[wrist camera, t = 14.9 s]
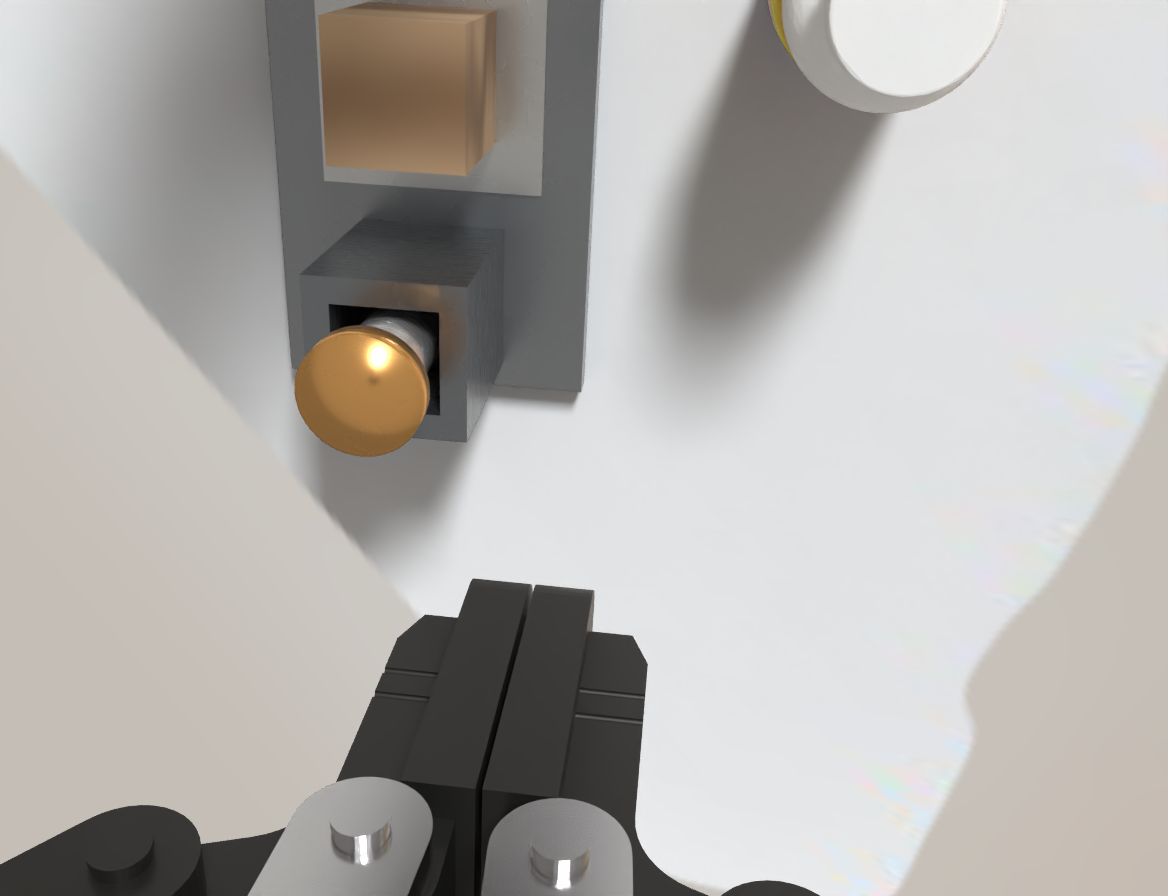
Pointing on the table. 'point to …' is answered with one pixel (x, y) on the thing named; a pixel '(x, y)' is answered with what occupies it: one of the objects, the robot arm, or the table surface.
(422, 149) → the block
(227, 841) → the robot arm
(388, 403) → the plunger
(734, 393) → the table surface
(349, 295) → the grey assembly fixture
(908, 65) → the supplement bottle
